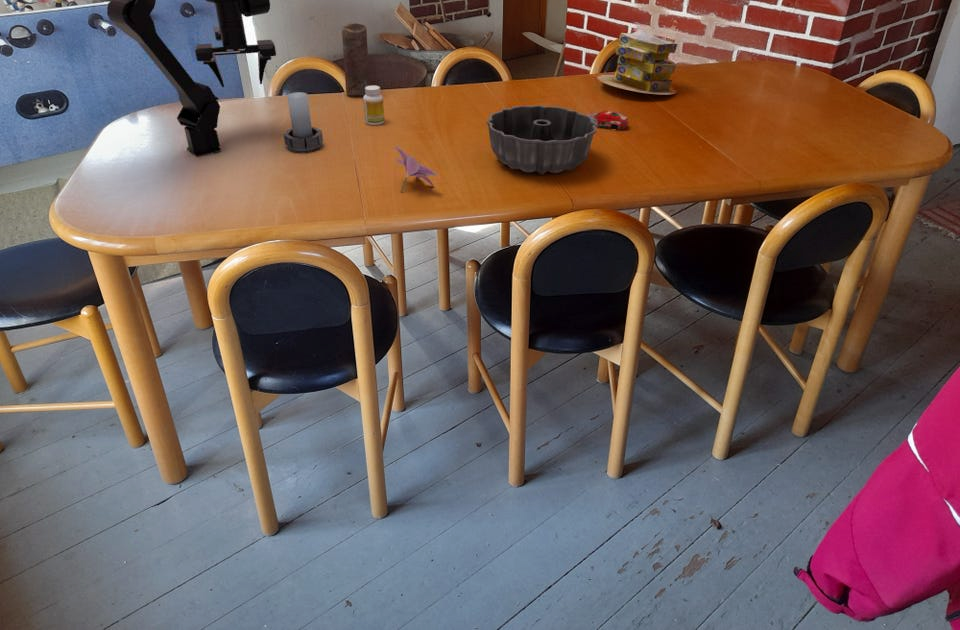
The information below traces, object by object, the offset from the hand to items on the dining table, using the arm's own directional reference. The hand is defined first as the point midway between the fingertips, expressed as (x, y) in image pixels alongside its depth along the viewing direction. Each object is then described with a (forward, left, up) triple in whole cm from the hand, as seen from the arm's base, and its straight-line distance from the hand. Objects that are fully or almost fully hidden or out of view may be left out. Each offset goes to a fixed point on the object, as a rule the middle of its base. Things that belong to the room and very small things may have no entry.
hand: (242, 85), depth 177 cm
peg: (+7, -16, -12) cm, 21 cm away
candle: (+41, +12, -13) cm, 45 cm away
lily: (+14, -54, -13) cm, 58 cm away
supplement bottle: (+31, -12, -13) cm, 36 cm away
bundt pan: (+47, -61, -13) cm, 78 cm away
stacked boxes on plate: (+112, -38, -13) cm, 119 cm away
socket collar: (+7, -16, -13) cm, 22 cm away
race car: (+79, -54, -14) cm, 96 cm away
